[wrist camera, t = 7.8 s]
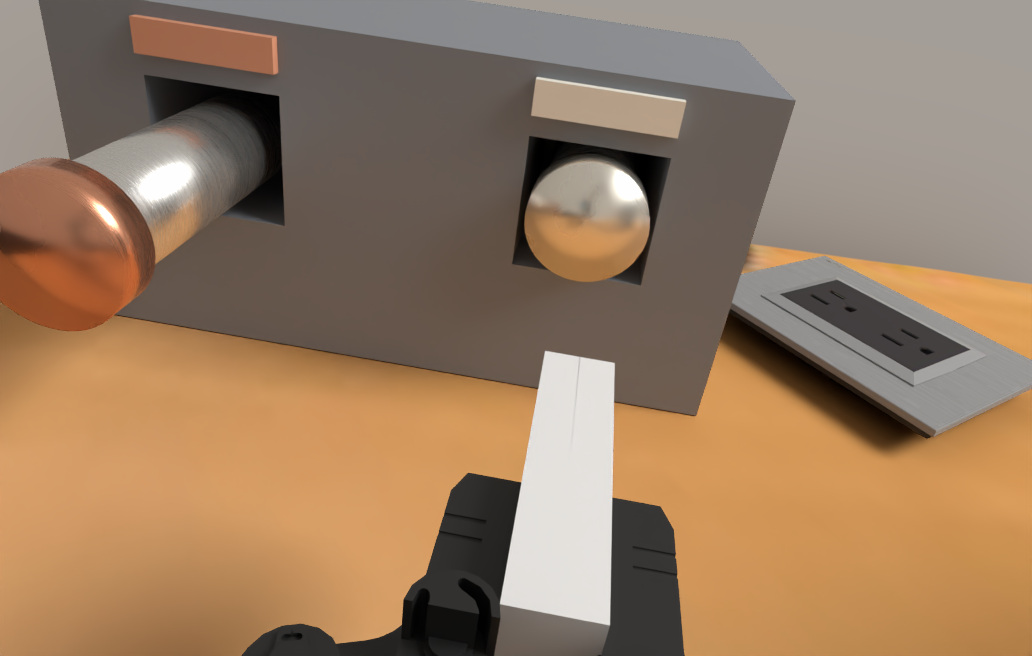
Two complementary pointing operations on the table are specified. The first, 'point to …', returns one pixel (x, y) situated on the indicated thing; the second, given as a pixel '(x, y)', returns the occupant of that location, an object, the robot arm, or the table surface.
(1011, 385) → the electrical outlet
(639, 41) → the housing
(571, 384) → the robot arm
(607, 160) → the silver metal peg
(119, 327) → the table surface
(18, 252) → the plug terracotta
